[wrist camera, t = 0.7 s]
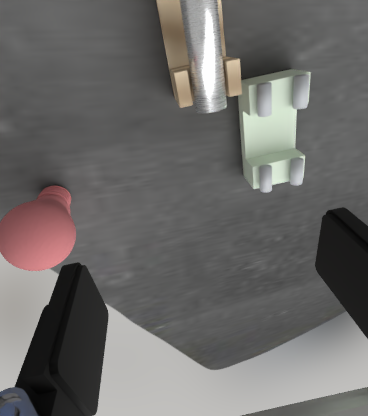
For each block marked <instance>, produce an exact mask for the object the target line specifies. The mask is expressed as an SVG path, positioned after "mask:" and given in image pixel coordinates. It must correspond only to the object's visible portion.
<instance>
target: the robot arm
mask: <svg viewBox="0 0 368 416" xmlns="http://www.w3.org/2000/svg"><path fill="white" fill-rule="evenodd" d="M315 266H316V270H317V272H318V274H319V275H320V276H321V278H322V279H323V280H324V282H325V283H326V284H327V286H328V287H329V288H330V289H331V291H332V292H333V293H334V295H335V296H336V297H337V299H338V300H339V301H340V303H341V304H342V305H343V307H344V308H345V309H346V311H347V312H348V313H349V315H350V316H351V317H352V318H353V320H354V321H355V322H356V324H357V325H358V326H359V328H360V329H361V331H362V332H363V333H364V335H365V336H366V337H367V338H368V226H367V225H366V224H364V223H363V222H362V221H361V220H360V219H358V218H357V217H356V216H355V215H354V214H352V213H351V212H350V211H349V210H347V209H346V208H343V207H342V208H338V209H333V210H329V211H327V212H326V215H324V216H323V218H322V224H321V230H320V237H319V243H318V250H317V256H316V262H315ZM107 325H108V310H107V307H106V305H105V303H104V301H103V299H102V297H101V295H100V293H99V291H98V289H97V287H96V285H95V283H94V281H93V279H92V277H91V275H90V273H89V271H88V269H87V267H86V266H85V265H81V264H80V263H73V264H68V265H64V266H62V268H61V271H60V273H59V276H58V279H57V282H56V285H55V288H54V291H53V293H52V296H51V299H50V302H49V305H47V306H45V307H44V309H43V311H42V314H41V317H40V319H39V322H38V325H37V328H36V330H35V333H34V336H33V338H32V341H31V344H30V347H29V349H28V352H27V355H26V357H25V360H24V363H23V365H22V368H21V371H20V374H19V376H18V379H17V382H16V385H15V387H13V388H8V389H5V390H3V391H1V392H0V416H93V415H95V414H96V412H97V407H98V399H99V390H100V382H101V374H102V366H103V358H104V357H103V356H104V349H105V341H106V333H107ZM242 416H368V387H367V388H362V389H357V390H353V391H348V392H344V393H339V394H335V395H331V396H326V397H321V398H317V399H312V400H308V401H304V402H300V403H295V404H290V405H286V406H282V407H277V408H273V409H268V410H264V411H260V412H255V413H251V414H246V415H242Z"/></svg>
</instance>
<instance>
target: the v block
mask: <svg viewBox="0 0 368 416" xmlns="http://www.w3.org/2000/svg"><path fill="white" fill-rule="evenodd" d="M310 73H311V72H306V71H300V70H295V69H290V70H285V71H281V72H276V73H272V74H267V75H262V76H258V77H253V78H249V79H244V80H241V87H242V94H241V95H238V103H239V117H240V132H241V147H242V161H243V176H244V177H245V178H246V180H247V181H248V182H249V184H250V185H251V186H252V188H253V189H256V188H260V191H262V192H270V191H271V190H272V185H274V184H278V183H283V182H287V181H290V184H292V185H301V184H302V181H303V178H304V164H305V155H304V154H302V153H301V152H299V151H298V150H297V149H295V137H296V114H297V109H303V108H306V107H307V103H309V88H310Z"/></svg>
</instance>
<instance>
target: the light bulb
mask: <svg viewBox="0 0 368 416" xmlns="http://www.w3.org/2000/svg"><path fill="white" fill-rule="evenodd" d="M70 202H71V195H70V193H69V192H68V191H67V190H66V189H65V188H63V187H60V186H49V187H46V188H45V189H44V190H43V191H41V193H40V194H39V196H38V198H37V200H35V201H31V202H27V203H23V204H21V205H18V206H17V207H15V208H13V209H12V210H11V211H9V212H8V213H7V214H6V215H5V216H4V218H3V219H2V221H1V223H0V252H1V254H2V255H3V257H4V258H5V259H6V260H7V261H8V262H9V263H11V264H12V265H14V266H16V267H18V268H20V269H24V270H29V271H40V270H45V269H49V268H51V267H53V266H56V265H57V264H59V263H60V262H62V261H63V260H64V259H65V258H66V257H67V256H68V255H69V253H70V252H71V250H72V248H73V246H74V243H75V239H76V229H75V225H74V222H73V220H72V218H71V216H70Z"/></svg>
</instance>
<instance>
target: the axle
mask: <svg viewBox="0 0 368 416" xmlns="http://www.w3.org/2000/svg"><path fill="white" fill-rule="evenodd" d="M179 1H180V7H181V14H182V21H183V27H184V34H185V40H186V47H187V53H188V60H189V67H190V73H191V80H192V86H193V93H194V99H195V106H196V112H198V113H211V112H216V111H220V110H223V109H225V108H226V107H227V100H226V89H225V78H224V67H223V56H222V45H221V34H220V23H219V12H218V1H217V0H179Z"/></svg>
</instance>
